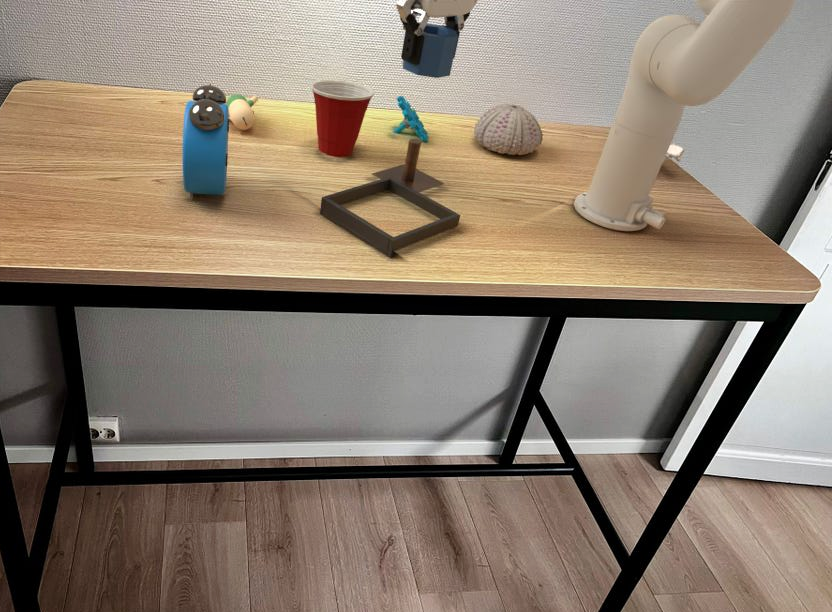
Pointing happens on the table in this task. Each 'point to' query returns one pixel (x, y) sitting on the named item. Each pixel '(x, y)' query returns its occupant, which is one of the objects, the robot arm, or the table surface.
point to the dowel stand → (410, 171)
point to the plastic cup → (339, 114)
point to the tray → (375, 235)
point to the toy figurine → (241, 111)
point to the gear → (410, 120)
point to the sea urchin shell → (508, 130)
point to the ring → (435, 52)
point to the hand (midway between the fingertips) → (428, 58)
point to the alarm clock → (205, 142)
